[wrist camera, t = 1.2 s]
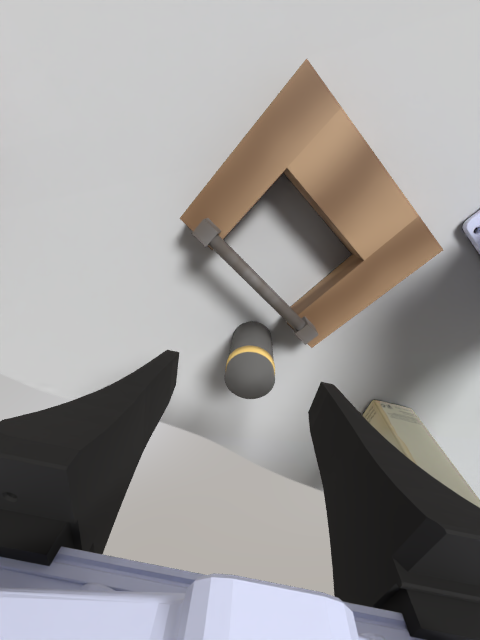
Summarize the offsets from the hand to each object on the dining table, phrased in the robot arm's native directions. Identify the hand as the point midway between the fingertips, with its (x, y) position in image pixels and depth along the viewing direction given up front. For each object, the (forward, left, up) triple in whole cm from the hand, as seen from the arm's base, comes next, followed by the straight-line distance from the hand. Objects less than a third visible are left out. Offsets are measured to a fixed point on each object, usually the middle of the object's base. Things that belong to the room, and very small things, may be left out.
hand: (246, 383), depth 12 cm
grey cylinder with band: (-2, +2, -10) cm, 11 cm away
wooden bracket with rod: (+2, -7, -10) cm, 13 cm away
